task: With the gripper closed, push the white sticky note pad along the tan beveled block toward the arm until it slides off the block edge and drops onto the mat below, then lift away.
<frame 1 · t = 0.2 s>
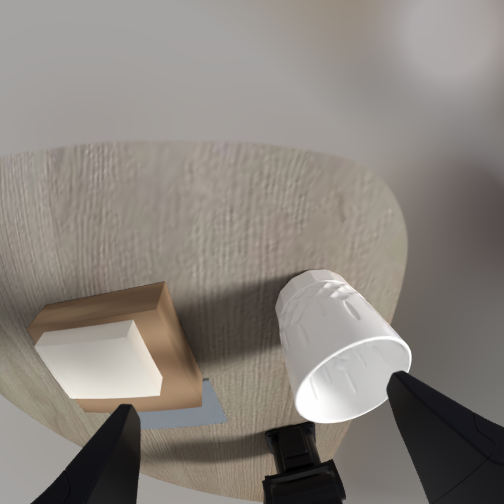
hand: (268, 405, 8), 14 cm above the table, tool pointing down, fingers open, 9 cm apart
white cup: (312, 301, 25), on the table
white sticky note pad: (100, 356, 20), point 4 cm above the table, touching tan beveled block
mat: (159, 407, 28), on the table
tan beveled block: (121, 344, 24), on the table
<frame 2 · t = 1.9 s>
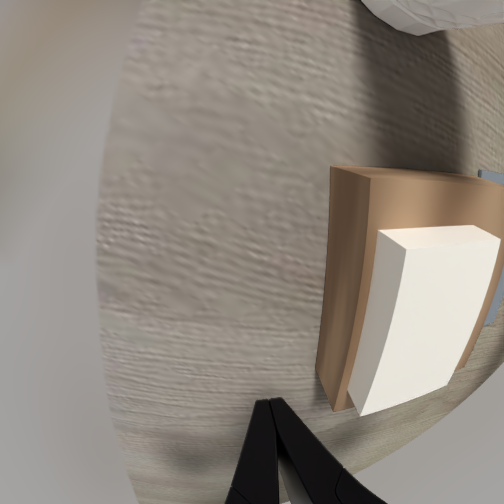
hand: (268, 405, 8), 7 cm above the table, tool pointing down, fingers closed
white sticky note pad: (414, 314, 12), point 4 cm above the table, touching tan beveled block
mat: (491, 259, 17), on the table
tan beveled block: (404, 274, 16), on the table
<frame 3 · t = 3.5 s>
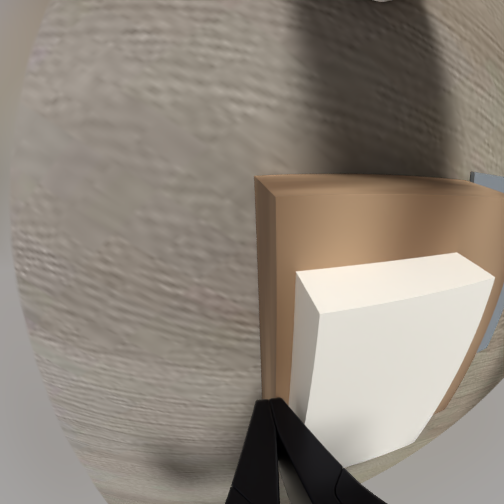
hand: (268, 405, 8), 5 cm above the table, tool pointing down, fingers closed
white sticky note pad: (367, 369, 10), point 4 cm above the table, touching gripper
mat: (486, 280, 14), on the table
tan beveled block: (368, 307, 13), on the table
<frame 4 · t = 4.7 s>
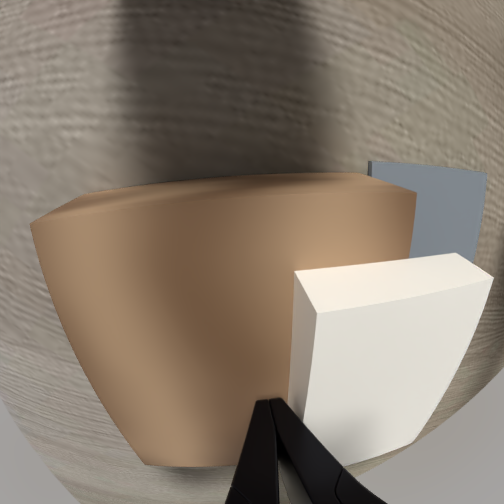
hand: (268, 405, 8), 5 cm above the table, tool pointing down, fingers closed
white sticky note pad: (365, 369, 10), point 4 cm above the table, touching tan beveled block, gripper
mat: (417, 296, 14), on the table
tan beveled block: (231, 323, 13), on the table
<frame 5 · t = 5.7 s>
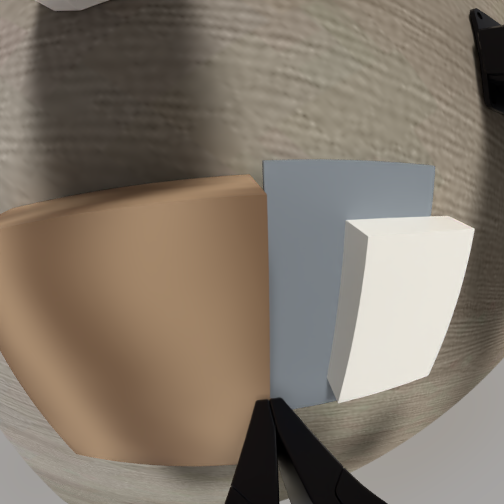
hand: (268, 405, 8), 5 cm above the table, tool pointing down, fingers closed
white sticky note pad: (409, 325, 11), point 2 cm above the table, tilted 180°, touching mat
mat: (347, 308, 13), on the table
tan beveled block: (139, 328, 12), on the table
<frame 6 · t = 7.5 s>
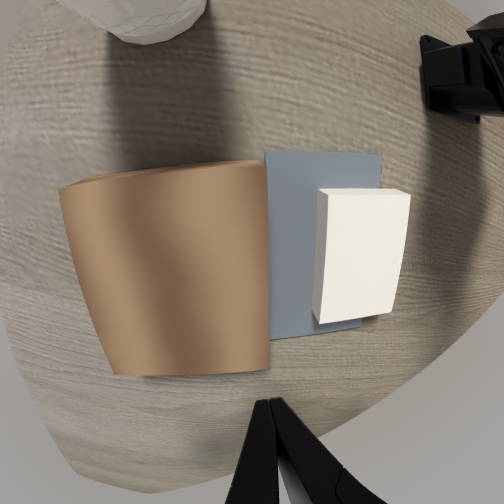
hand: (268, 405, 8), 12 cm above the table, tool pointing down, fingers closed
white cup: (156, 4, 12), on the table
white sticky note pad: (366, 262, 18), point 2 cm above the table, tilted 180°, touching mat
mat: (323, 252, 20), on the table
tan beveled block: (178, 263, 19), on the table
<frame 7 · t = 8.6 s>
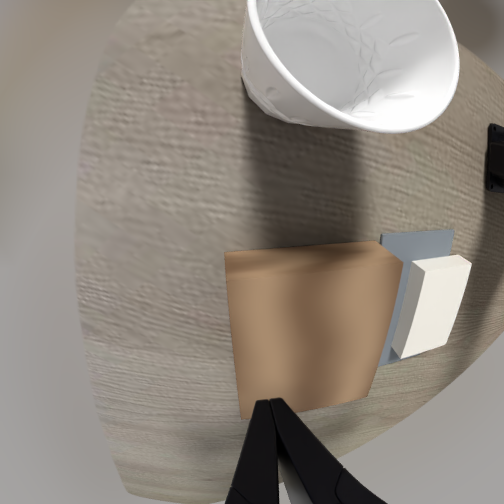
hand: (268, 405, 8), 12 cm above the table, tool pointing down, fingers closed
white cup: (294, 74, 15), on the table
white sticky note pad: (438, 313, 21), point 2 cm above the table, tilted 180°, touching mat
mat: (405, 305, 23), on the table
tan beveled block: (301, 322, 22), on the table
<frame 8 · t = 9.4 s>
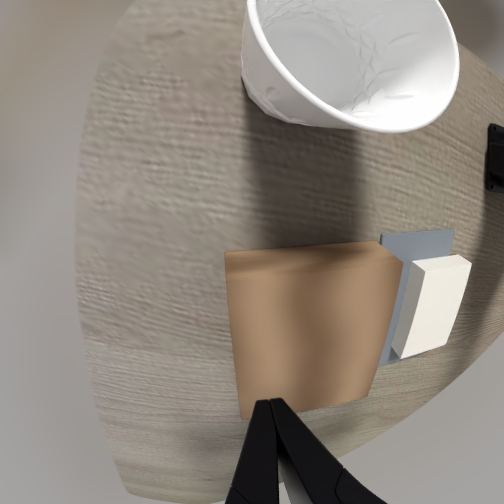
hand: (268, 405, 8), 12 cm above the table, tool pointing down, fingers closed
white cup: (294, 74, 15), on the table
white sticky note pad: (438, 313, 21), point 2 cm above the table, tilted 180°, touching mat
mat: (405, 305, 23), on the table
tan beveled block: (301, 323, 22), on the table
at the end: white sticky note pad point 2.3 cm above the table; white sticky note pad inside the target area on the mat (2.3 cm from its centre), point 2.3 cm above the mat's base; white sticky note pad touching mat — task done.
